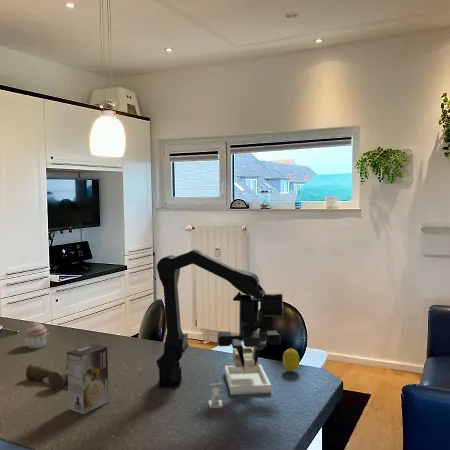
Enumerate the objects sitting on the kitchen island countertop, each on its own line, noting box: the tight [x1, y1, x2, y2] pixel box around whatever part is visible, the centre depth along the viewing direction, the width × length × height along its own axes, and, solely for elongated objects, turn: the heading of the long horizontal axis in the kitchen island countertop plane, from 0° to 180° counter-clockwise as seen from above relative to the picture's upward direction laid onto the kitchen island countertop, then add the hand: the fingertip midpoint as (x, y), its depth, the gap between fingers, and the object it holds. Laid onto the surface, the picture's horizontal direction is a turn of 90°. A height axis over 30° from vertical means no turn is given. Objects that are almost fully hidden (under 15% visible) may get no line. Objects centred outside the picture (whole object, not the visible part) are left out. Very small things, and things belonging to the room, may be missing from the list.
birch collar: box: [232, 346, 259, 374], centre depth 147 cm, size 12×7×4 cm, turn 6°
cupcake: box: [23, 321, 50, 350], centre depth 183 cm, size 9×9×10 cm
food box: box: [66, 343, 109, 415], centre depth 130 cm, size 9×6×16 cm
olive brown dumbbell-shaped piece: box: [25, 362, 68, 391], centre depth 147 cm, size 6×10×20 cm
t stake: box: [208, 382, 224, 409], centre depth 131 cm, size 4×4×6 cm
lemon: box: [282, 347, 300, 373], centre depth 156 cm, size 6×6×8 cm
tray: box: [224, 364, 272, 396], centre depth 147 cm, size 17×12×2 cm
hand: (248, 366), depth 142 cm, fingers closed on birch collar, 3 cm apart
